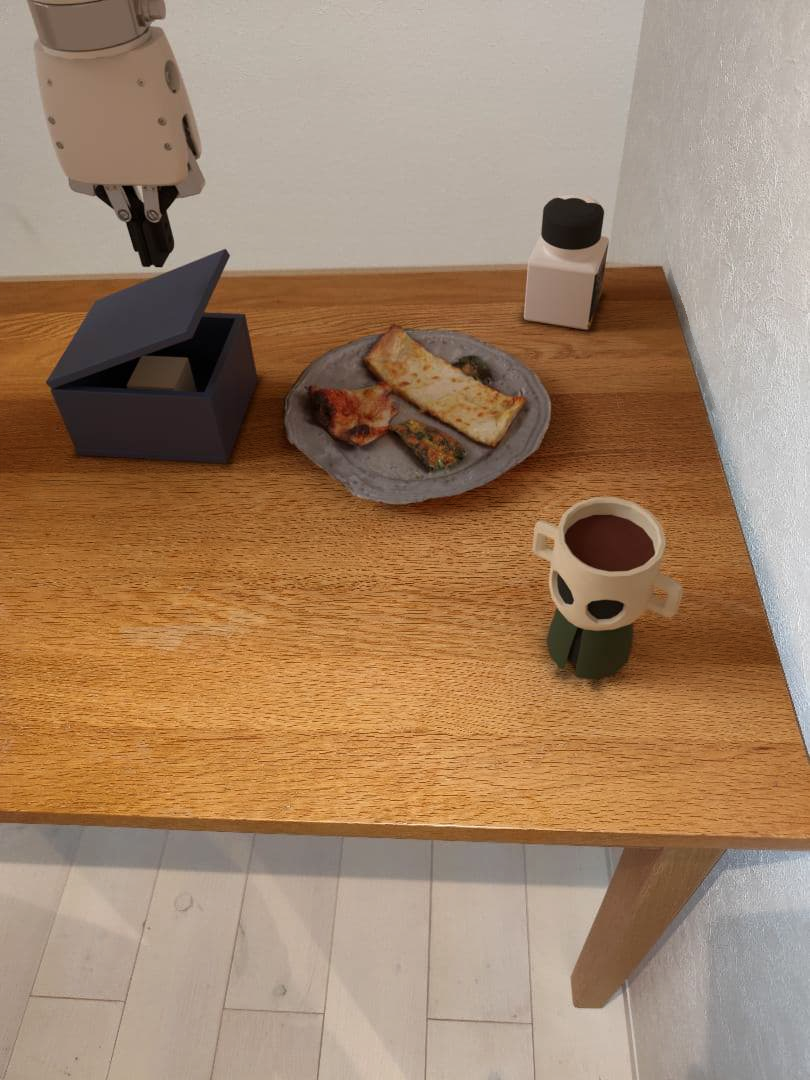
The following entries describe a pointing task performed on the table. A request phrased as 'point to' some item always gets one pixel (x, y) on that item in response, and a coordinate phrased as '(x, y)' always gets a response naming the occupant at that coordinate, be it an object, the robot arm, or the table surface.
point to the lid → (141, 319)
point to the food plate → (416, 414)
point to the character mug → (603, 581)
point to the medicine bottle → (567, 263)
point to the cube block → (162, 374)
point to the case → (168, 401)
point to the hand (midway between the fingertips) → (157, 258)
